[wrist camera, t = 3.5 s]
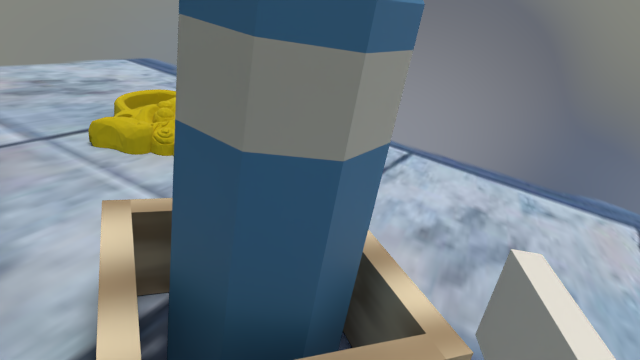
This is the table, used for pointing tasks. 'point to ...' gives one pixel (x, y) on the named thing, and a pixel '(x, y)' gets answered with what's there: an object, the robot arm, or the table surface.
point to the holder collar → (366, 356)
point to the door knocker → (138, 124)
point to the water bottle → (278, 168)
